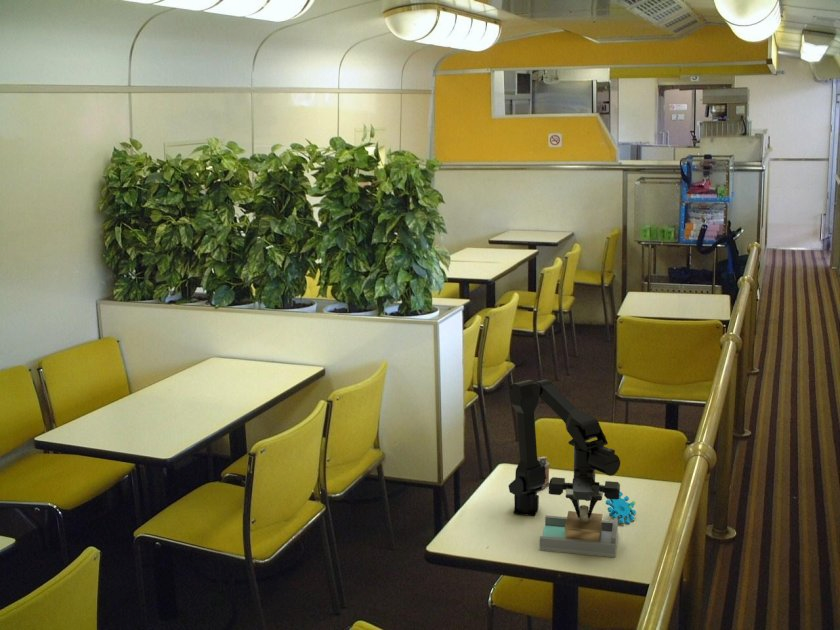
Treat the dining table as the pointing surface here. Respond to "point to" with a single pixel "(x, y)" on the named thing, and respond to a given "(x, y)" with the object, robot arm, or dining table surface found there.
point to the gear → (621, 509)
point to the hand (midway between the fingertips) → (583, 517)
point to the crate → (583, 525)
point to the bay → (557, 542)
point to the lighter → (546, 464)
